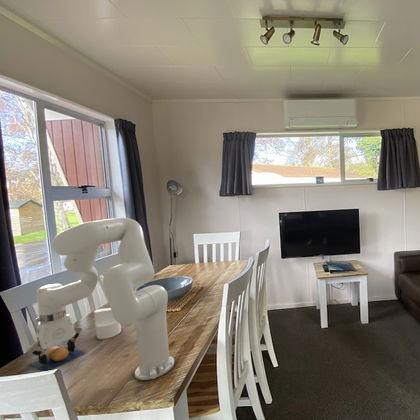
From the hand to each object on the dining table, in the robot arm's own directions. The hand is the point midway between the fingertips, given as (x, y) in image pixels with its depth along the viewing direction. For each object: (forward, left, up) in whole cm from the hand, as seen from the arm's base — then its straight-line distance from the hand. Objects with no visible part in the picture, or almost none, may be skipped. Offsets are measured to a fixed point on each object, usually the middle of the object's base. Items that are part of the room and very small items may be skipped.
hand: (58, 357), depth 108 cm
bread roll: (0, 0, -1) cm, 1 cm away
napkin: (0, 0, -1) cm, 1 cm away
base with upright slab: (+11, -16, -1) cm, 19 cm away
